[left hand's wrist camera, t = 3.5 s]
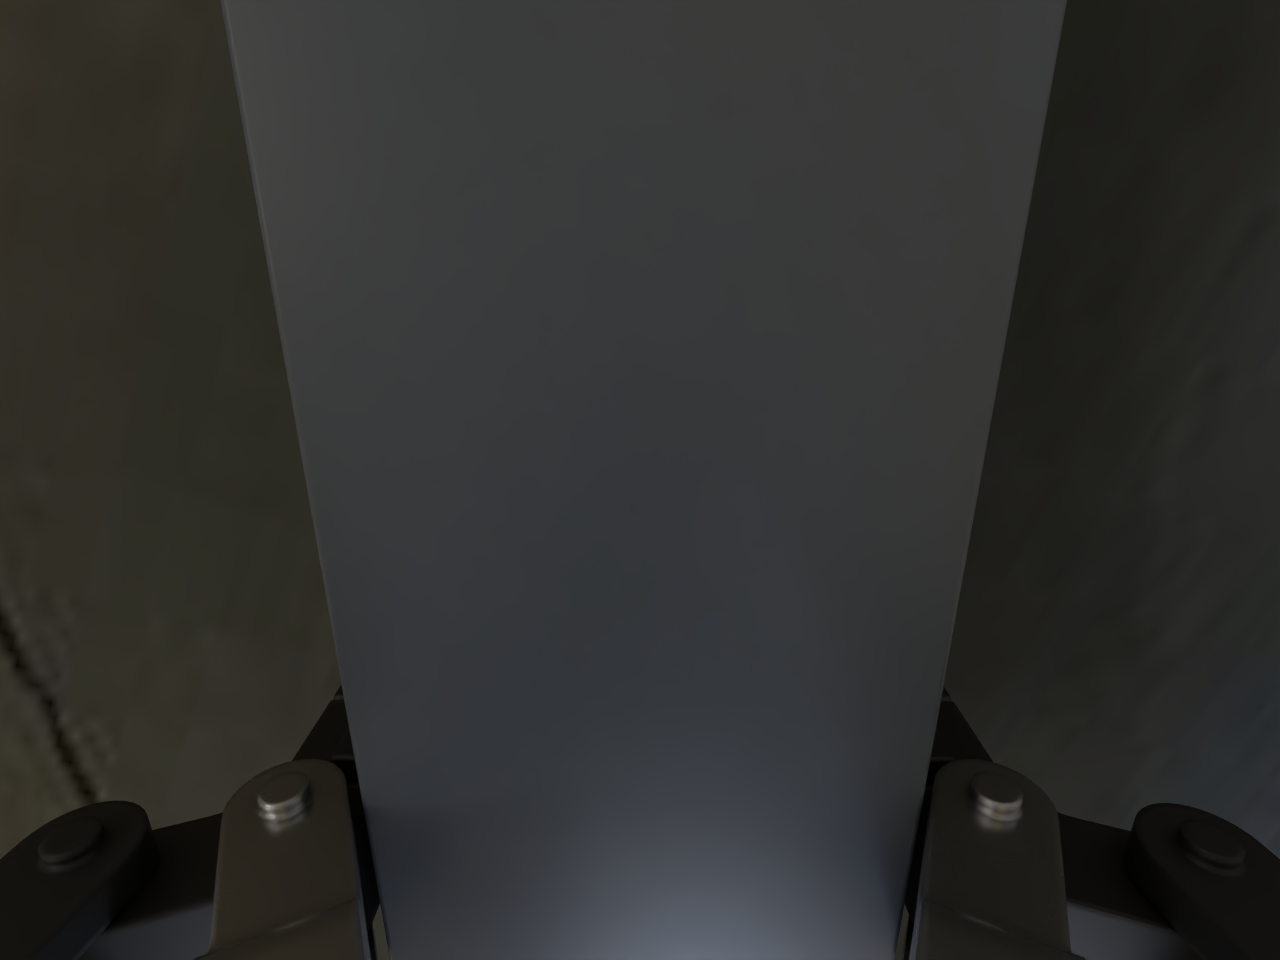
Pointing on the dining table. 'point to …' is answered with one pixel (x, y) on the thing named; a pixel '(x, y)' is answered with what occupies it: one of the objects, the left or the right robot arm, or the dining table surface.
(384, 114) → the box
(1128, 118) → the dining table surface
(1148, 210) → the dining table surface
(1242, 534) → the dining table surface
